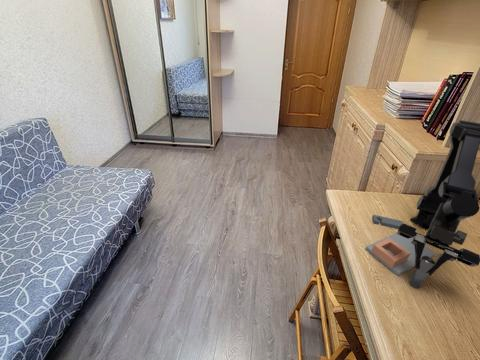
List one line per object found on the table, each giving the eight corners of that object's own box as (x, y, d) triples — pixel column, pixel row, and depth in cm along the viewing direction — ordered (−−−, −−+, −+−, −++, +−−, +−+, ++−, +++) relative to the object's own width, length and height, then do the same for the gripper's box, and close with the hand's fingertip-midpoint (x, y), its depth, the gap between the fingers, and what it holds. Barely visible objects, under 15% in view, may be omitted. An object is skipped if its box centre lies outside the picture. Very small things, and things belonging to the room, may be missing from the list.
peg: (412, 278, 78) (426, 254, 73) (422, 285, 76) (437, 262, 71) (406, 281, 77) (419, 258, 72) (416, 289, 75) (430, 266, 69)
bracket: (402, 231, 97) (404, 227, 96) (372, 224, 99) (374, 220, 98) (400, 224, 100) (402, 220, 99) (371, 218, 103) (373, 214, 102)
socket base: (401, 232, 95) (405, 223, 93) (434, 255, 86) (440, 246, 84) (364, 249, 87) (368, 240, 85) (397, 276, 78) (402, 266, 76)
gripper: (412, 200, 72) (387, 251, 70) (499, 232, 62) (473, 292, 60) (408, 210, 81) (386, 255, 80) (483, 239, 71) (460, 291, 69)
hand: (422, 271), depth 72 cm, fingers closed on peg, 3 cm apart
